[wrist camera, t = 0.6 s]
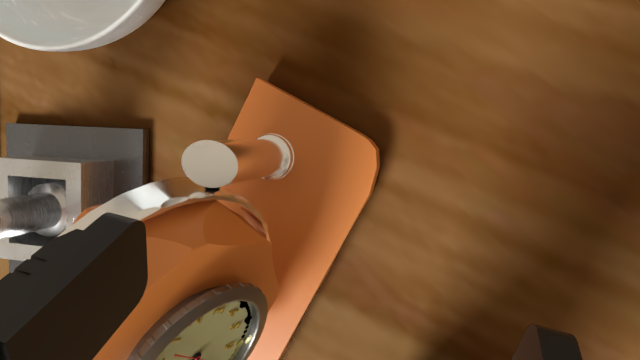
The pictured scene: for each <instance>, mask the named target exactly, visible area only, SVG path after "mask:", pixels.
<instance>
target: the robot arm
mask: <svg viewBox="0 0 640 360" xmlns="http://www.w3.org/2000/svg"><path fill="white" fill-rule="evenodd" d="M147 281H148V266H147V242H146V227H145V224H144V223H143V222H142V221H140V220H137V219H133V218H129V217H125V216H122V215H118V214H114V213H110V212H107V213H104V214H103V215H101V216H100V217H99V218H97V219H96V220H95V221H94V222H93V223H91V224H90V225H89V226H88V227H87V228H85V229H84V230H80V229H75V230H73V231H70V232H68V233H66V234H64V235H61V236H59V237H57V238H54V239H52V240H50V241H49V242H48V243H47V244H45V245H44V246H43V247H41V248H40V249H39V250H38V251H36V252H35V253H34V254H33V255H31V258H30V259H26V260H25V261H24V262H23V263H21V264H20V265H19V266H18V267H16V268H15V269H14V272H13V273H9V274H7V275H6V276H5V277H4V278H2V279H1V280H0V360H93V358H94V357H95V356H96V355H97V354H98V352H99V351H100V350H101V349H102V347H103V346H104V345H105V344H106V343H107V341H108V340H109V339H110V338H111V337H112V335H113V334H114V333H115V332H116V330H117V329H118V328H119V327H120V326H121V324H122V323H123V322H124V321H125V320H126V318H127V317H128V316H129V315H130V313H131V312H132V311H133V310H134V309H135V307H136V306H137V305H138V303H139V302H140V300H141V298H142V297H143V294H144V292H145V289H146V286H147ZM512 360H582V356H581V353H580V350H579V346H578V343H577V340H576V338H575V337H574V336H573V335H572V334H568V333H564V332H561V331H557V330H553V329H549V328H546V327H542V326H538V325H534V324H531V325H529V326H528V327H527V329H526V330H525V332H524V334H523V336H522V339H521V341H520V343H519V345H518V347H517V349H516V351H515V353H514V355H513V357H512Z"/></svg>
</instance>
